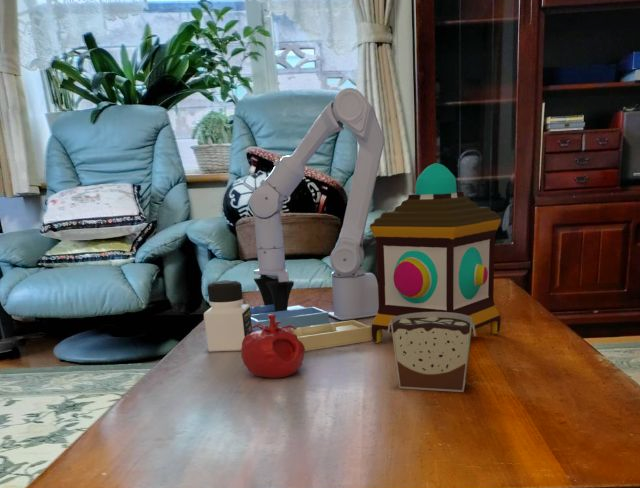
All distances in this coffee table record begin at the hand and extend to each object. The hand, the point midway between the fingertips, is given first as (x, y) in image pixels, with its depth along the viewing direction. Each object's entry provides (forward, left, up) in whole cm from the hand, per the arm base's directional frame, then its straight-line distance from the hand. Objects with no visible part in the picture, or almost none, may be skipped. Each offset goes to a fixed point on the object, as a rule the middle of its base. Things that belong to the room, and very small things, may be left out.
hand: (276, 311), depth 149 cm
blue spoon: (0, 0, -1) cm, 1 cm away
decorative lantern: (-18, +38, -2) cm, 42 cm away
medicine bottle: (+16, +21, -2) cm, 26 cm away
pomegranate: (+15, +43, -2) cm, 45 cm away
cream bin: (0, +28, -1) cm, 28 cm away
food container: (-3, +62, -2) cm, 62 cm away
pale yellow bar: (0, +28, -1) cm, 28 cm away
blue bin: (+1, +10, -1) cm, 10 cm away
